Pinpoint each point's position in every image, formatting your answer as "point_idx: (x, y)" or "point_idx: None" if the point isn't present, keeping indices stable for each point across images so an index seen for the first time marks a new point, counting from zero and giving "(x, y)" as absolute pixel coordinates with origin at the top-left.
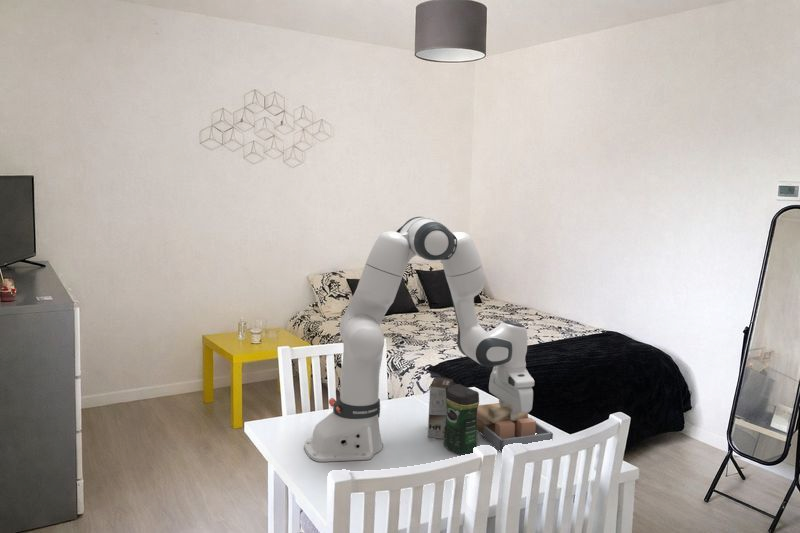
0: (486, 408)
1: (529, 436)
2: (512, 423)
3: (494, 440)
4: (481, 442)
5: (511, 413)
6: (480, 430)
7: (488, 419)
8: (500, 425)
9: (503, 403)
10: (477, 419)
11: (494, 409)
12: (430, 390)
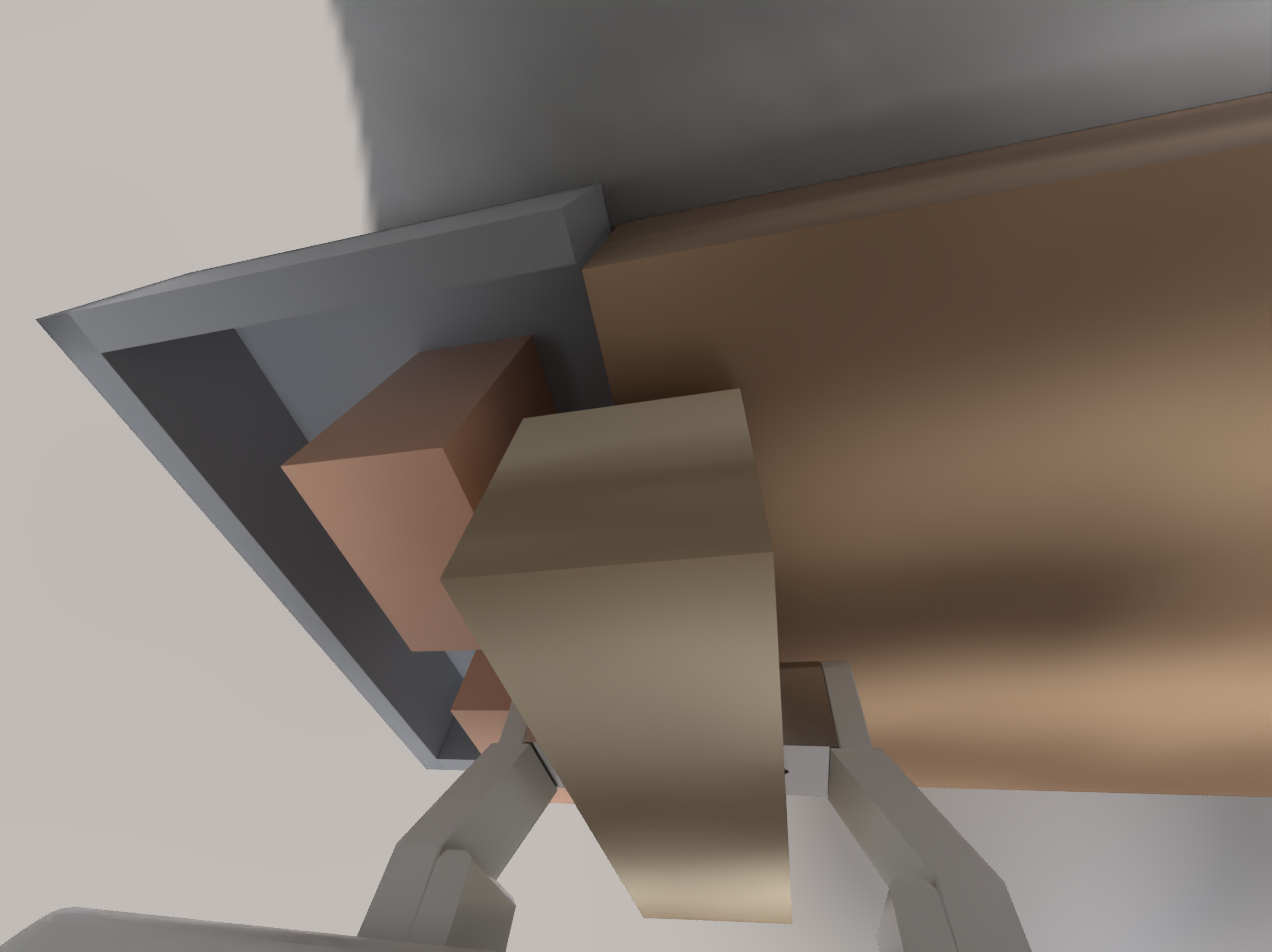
0: None
1: (313, 636)
2: (424, 636)
3: (260, 264)
4: (427, 89)
5: (480, 768)
6: (766, 199)
7: (720, 391)
8: (301, 473)
9: (889, 859)
10: (960, 192)
11: (655, 640)
12: None
